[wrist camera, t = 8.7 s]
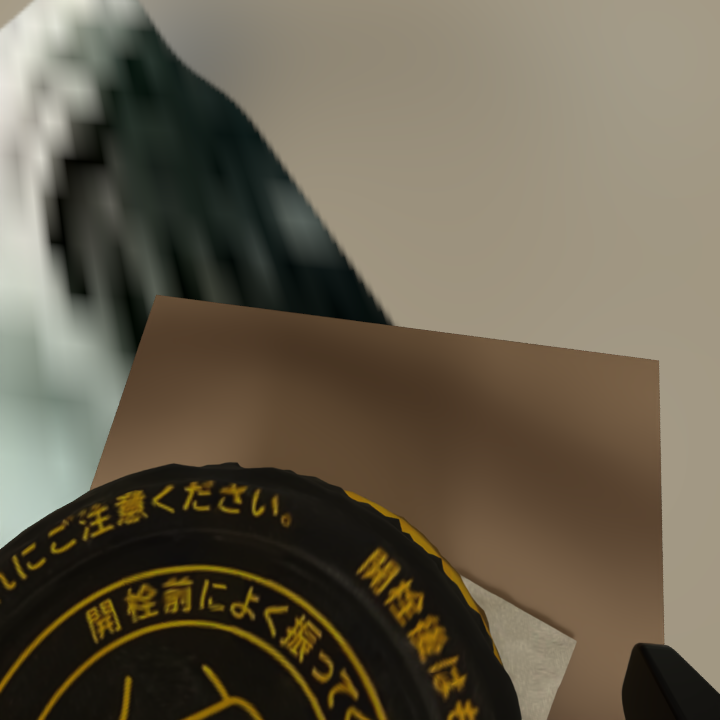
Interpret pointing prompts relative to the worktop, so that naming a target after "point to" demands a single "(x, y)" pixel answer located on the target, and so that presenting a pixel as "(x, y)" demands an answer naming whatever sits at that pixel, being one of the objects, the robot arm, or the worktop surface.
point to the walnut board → (434, 455)
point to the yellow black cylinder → (255, 610)
